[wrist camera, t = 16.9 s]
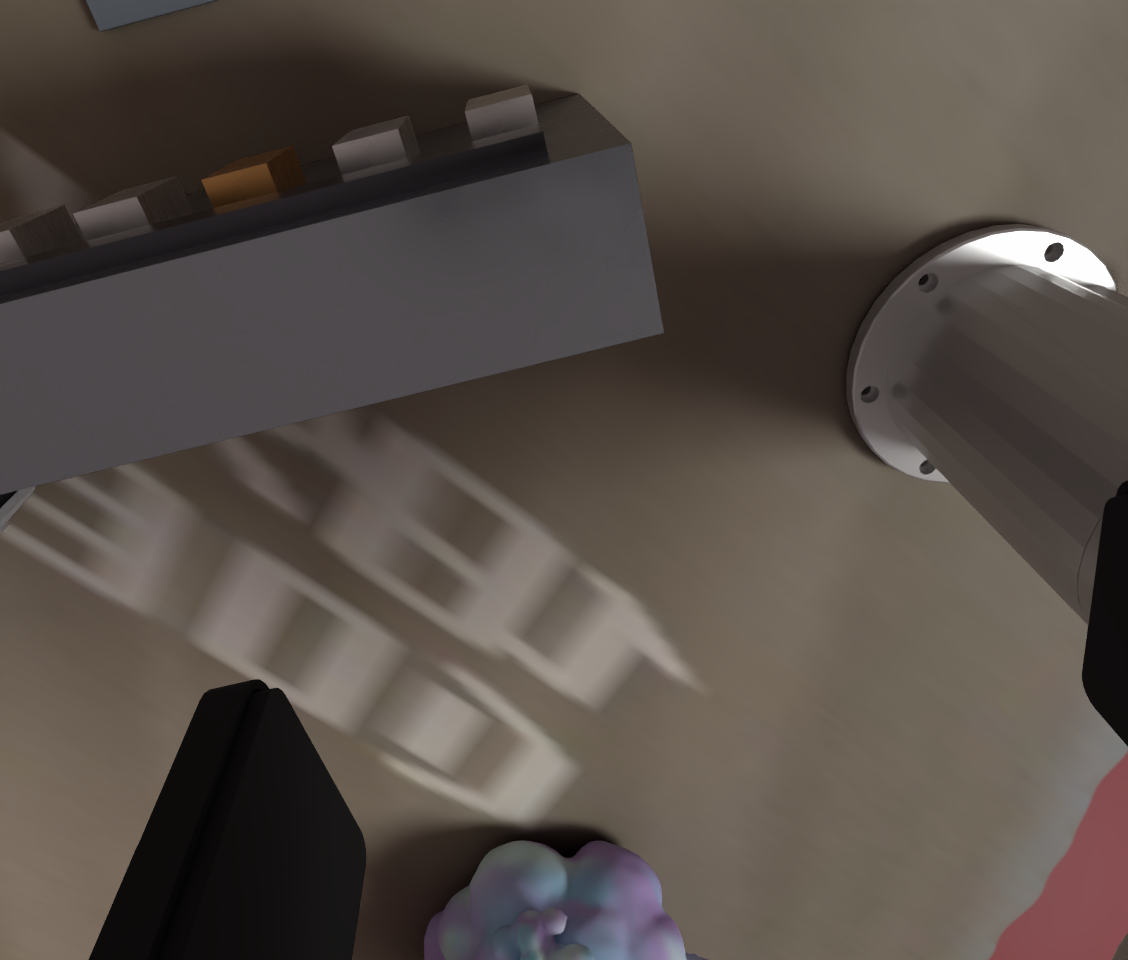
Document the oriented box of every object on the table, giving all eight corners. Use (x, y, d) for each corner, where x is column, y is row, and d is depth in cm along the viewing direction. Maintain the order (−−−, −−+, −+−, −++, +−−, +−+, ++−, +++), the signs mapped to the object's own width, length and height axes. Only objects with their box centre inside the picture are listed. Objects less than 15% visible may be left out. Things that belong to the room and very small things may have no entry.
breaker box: (572, 60, 31) (621, 89, 19) (604, 220, 35) (663, 332, 22) (34, 200, 32) (-239, 312, 20) (112, 343, 36) (-85, 515, 23)
